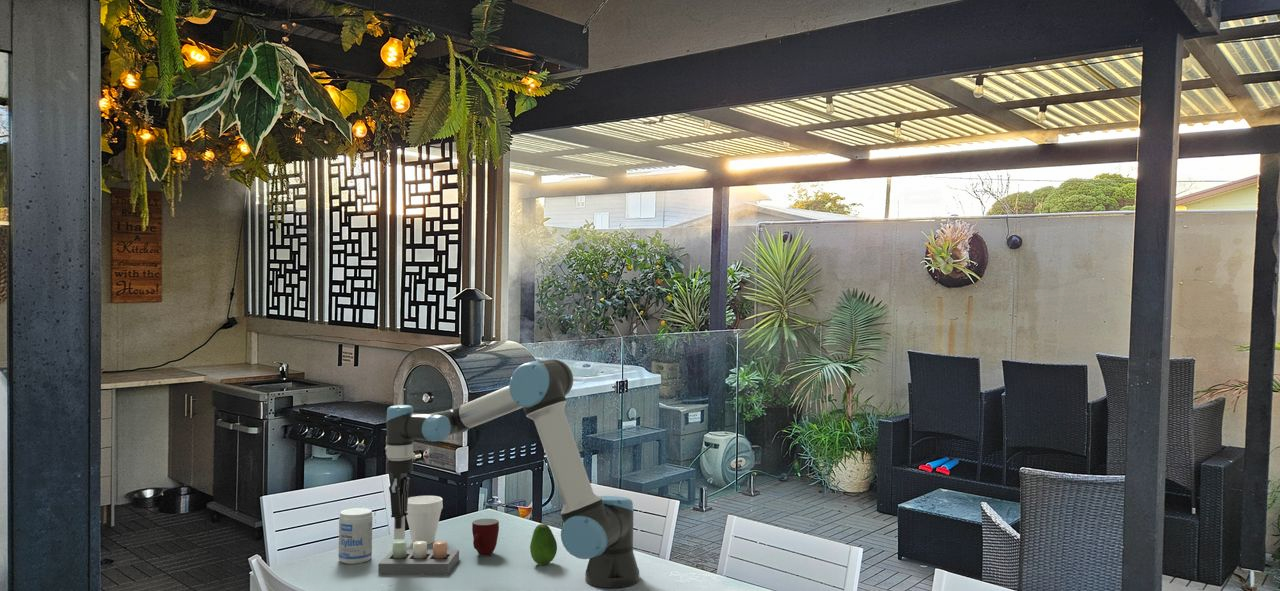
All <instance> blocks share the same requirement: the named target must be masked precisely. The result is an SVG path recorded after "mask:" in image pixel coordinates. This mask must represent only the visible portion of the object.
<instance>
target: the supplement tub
mask: <svg viewBox="0 0 1280 591" xmlns="http://www.w3.org/2000/svg"><path fill="white" fill-rule="evenodd" d="M338 518H339V519H338V521H339V522H338V560H339V562H340V563H343V564H346V565H347V564H348V565H349V564H350V565H351V564H352V565H355V564H363V563H365V562H368V561H369V560H371V559H372V555H373V554H372V551H373V510H372V509H370V508H367V507H355V508H354V507H353V508H346V509H344V510H341V511H340V512H339V517H338Z"/></svg>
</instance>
